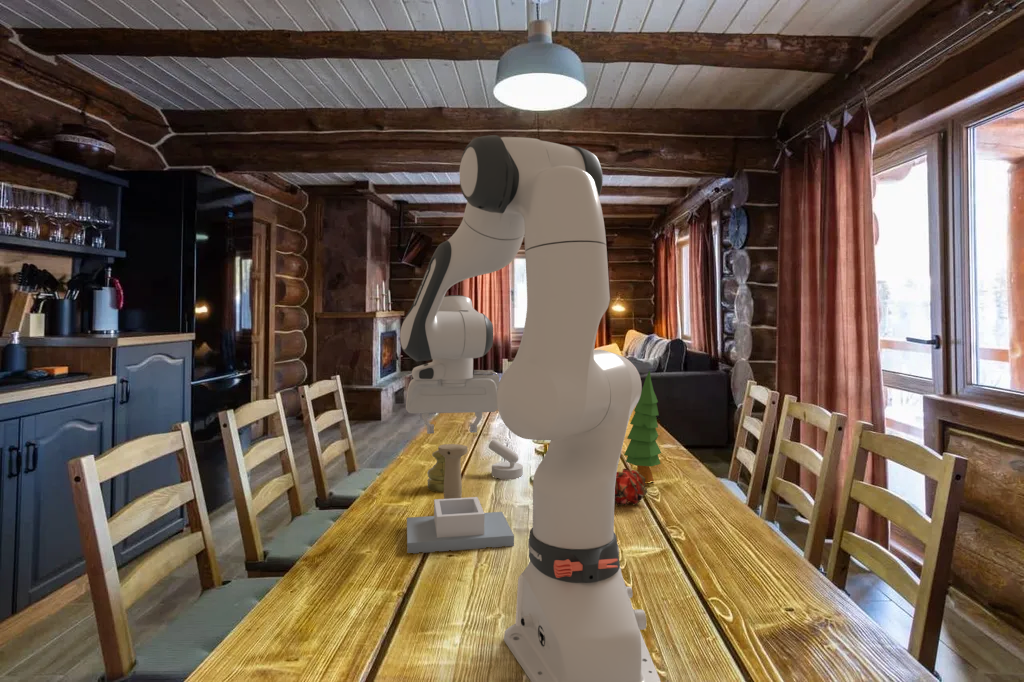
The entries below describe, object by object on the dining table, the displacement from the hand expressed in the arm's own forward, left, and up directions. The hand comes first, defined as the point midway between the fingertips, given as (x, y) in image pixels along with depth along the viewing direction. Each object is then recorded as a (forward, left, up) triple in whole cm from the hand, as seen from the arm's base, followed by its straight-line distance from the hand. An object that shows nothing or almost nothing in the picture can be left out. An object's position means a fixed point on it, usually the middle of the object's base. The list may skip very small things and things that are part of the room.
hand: (452, 432), depth 120 cm
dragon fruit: (0, -41, -18) cm, 45 cm away
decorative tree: (+16, -52, -18) cm, 58 cm away
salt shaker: (+19, +1, -18) cm, 26 cm away
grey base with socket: (-13, 0, -18) cm, 22 cm away
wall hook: (+28, -17, -18) cm, 37 cm away
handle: (0, 0, -18) cm, 18 cm away
